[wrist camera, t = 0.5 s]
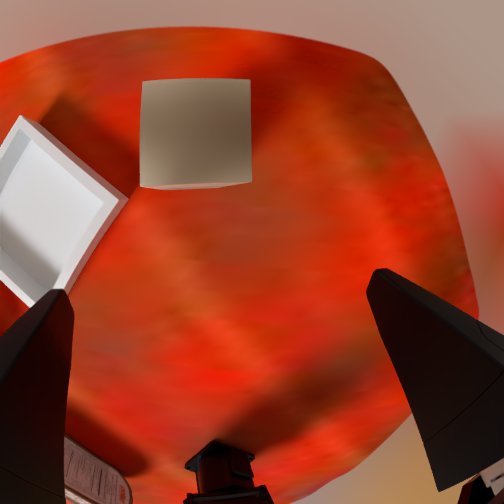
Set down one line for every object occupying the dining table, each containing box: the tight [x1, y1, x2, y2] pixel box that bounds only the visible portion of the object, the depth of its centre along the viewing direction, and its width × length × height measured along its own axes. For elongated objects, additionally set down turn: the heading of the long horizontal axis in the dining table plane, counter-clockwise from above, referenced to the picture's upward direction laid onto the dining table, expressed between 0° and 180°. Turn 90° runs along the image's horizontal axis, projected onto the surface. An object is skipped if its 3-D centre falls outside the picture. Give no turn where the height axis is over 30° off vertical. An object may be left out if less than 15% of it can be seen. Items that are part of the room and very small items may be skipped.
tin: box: [64, 434, 133, 504], centre depth 21 cm, size 15×3×8 cm, turn 38°
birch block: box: [140, 78, 252, 190], centre depth 16 cm, size 4×4×13 cm
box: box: [0, 115, 129, 307], centre depth 18 cm, size 12×12×4 cm
